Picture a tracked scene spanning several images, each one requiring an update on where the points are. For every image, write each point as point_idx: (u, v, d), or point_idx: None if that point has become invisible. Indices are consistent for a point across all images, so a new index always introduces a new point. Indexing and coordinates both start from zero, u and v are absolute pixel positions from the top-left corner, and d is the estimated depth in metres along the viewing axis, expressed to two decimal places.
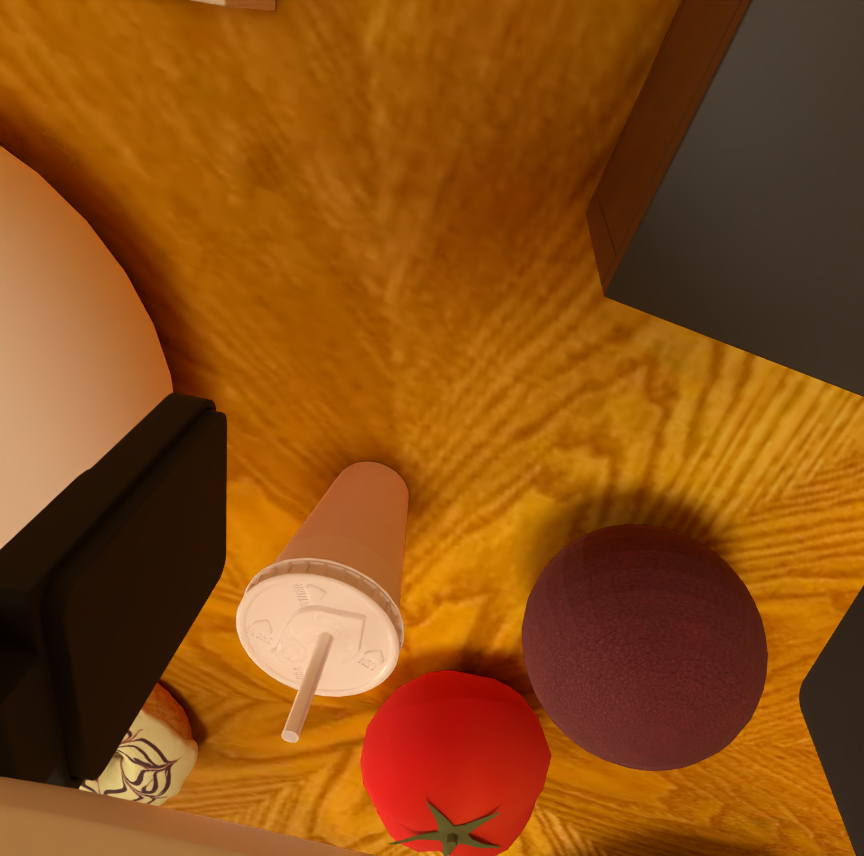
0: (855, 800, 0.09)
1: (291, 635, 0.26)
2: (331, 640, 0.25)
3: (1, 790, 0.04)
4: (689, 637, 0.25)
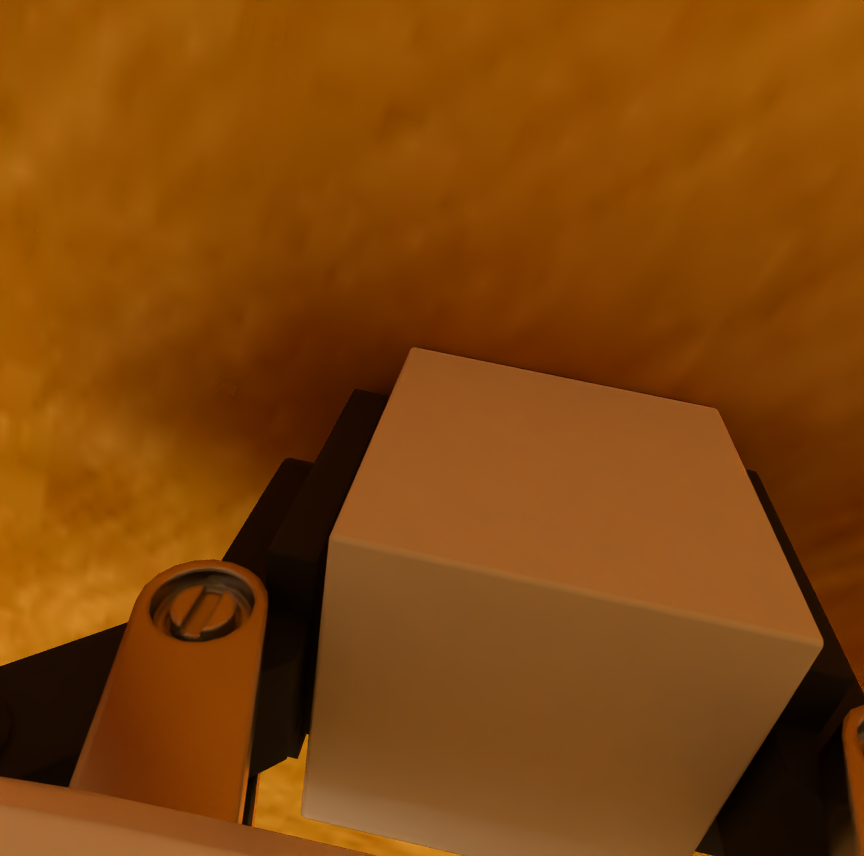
0: None
1: None
2: None
3: (1, 790, 0.04)
4: None
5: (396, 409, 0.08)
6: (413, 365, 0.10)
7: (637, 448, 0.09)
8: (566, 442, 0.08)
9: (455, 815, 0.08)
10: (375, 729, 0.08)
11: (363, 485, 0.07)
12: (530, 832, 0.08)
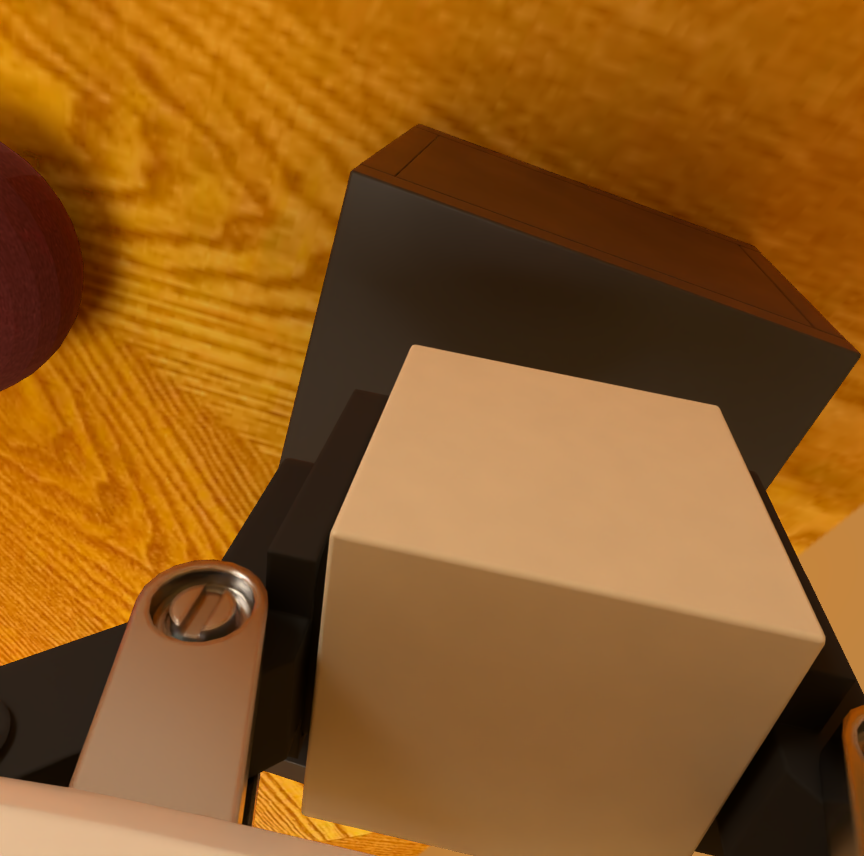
0: None
1: None
2: None
3: (2, 790, 0.04)
4: None
5: (397, 406, 0.08)
6: (413, 362, 0.10)
7: (638, 445, 0.09)
8: (567, 438, 0.08)
9: (456, 813, 0.08)
10: (375, 727, 0.07)
11: (364, 482, 0.07)
12: (531, 830, 0.08)
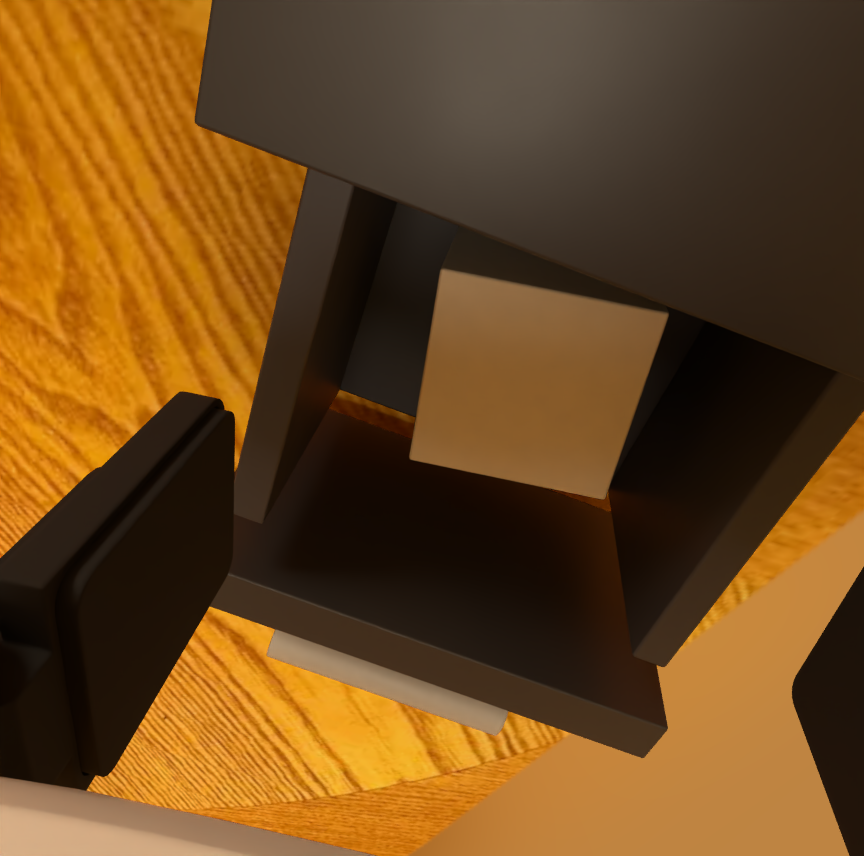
0: (846, 793, 0.09)
1: None
2: None
3: (1, 790, 0.04)
4: None
5: (460, 237, 0.16)
6: None
7: None
8: None
9: (493, 446, 0.15)
10: (454, 389, 0.15)
11: (451, 257, 0.14)
12: (533, 454, 0.15)
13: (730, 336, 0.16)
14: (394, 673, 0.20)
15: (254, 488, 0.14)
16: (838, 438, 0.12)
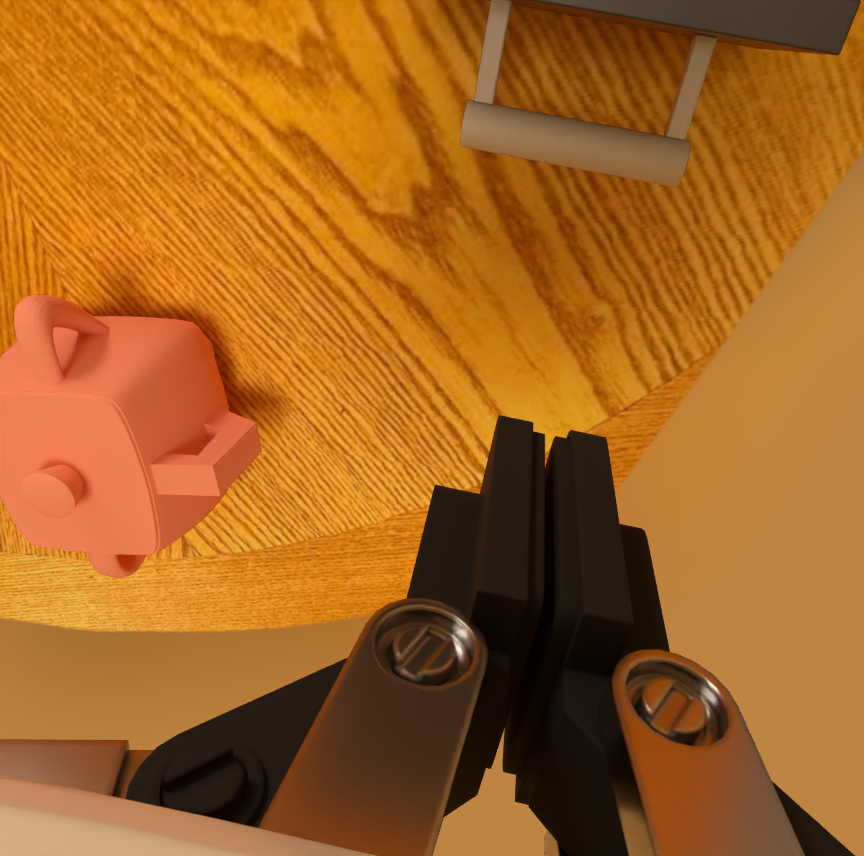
0: None
1: None
2: None
3: (1, 790, 0.04)
4: None
5: None
6: None
7: None
8: None
9: None
10: None
11: None
12: None
13: None
14: (579, 127, 0.21)
15: None
16: None
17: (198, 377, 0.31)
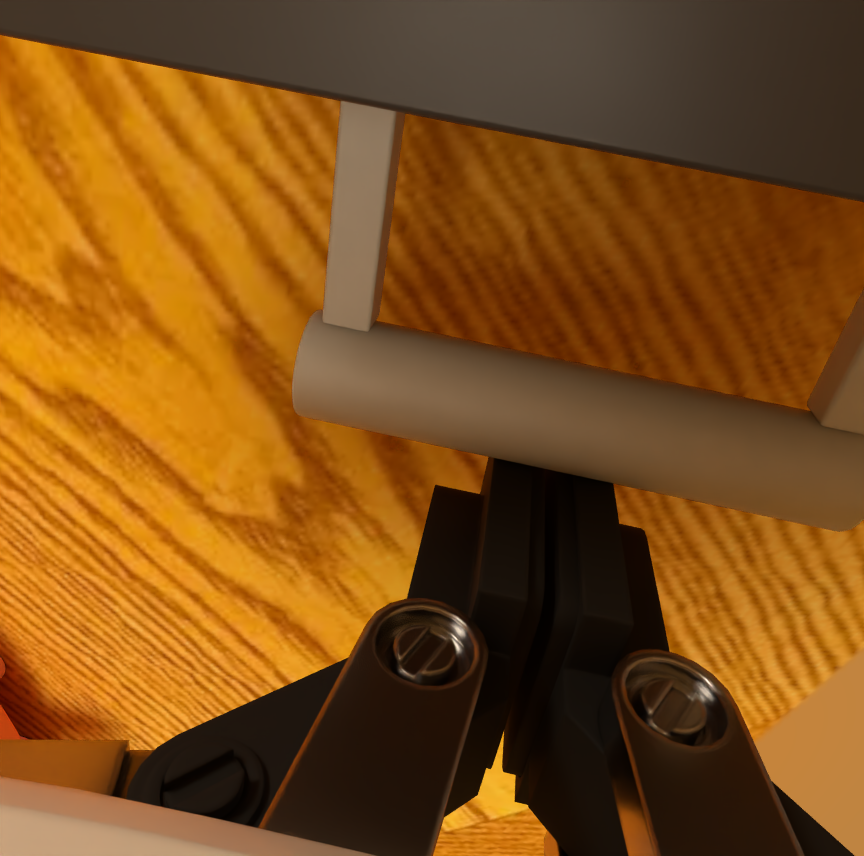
0: None
1: None
2: None
3: (1, 790, 0.04)
4: None
5: None
6: None
7: None
8: None
9: None
10: None
11: None
12: None
13: None
14: (593, 399, 0.08)
15: None
16: None
17: None
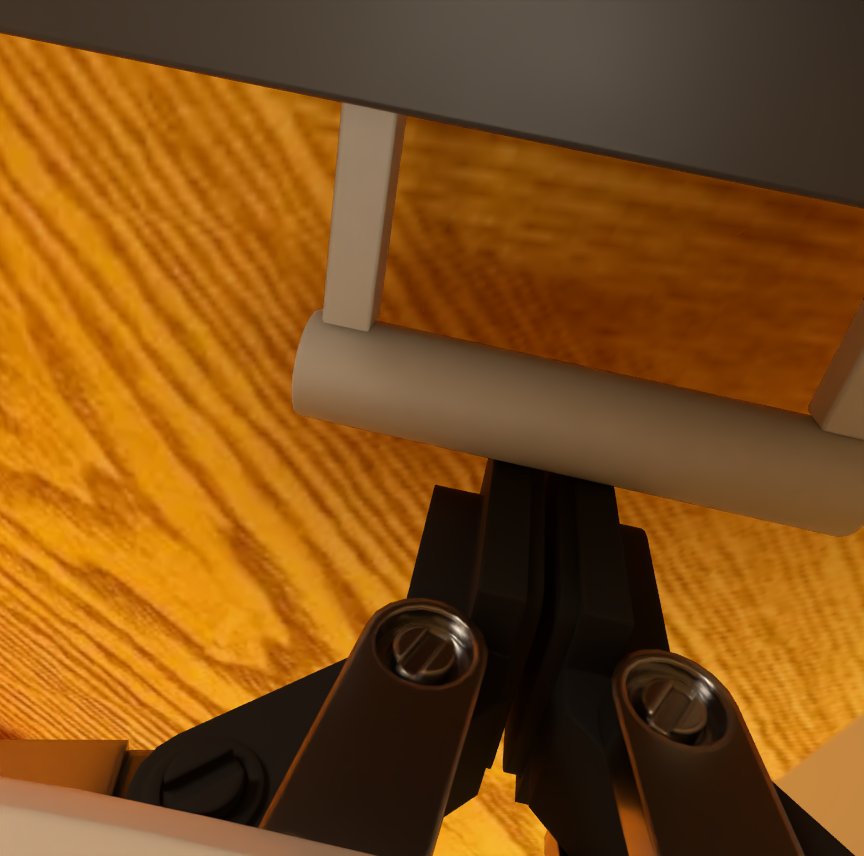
0: None
1: None
2: None
3: (2, 790, 0.04)
4: None
5: None
6: None
7: None
8: None
9: None
10: None
11: None
12: None
13: None
14: (593, 401, 0.08)
15: None
16: None
17: None
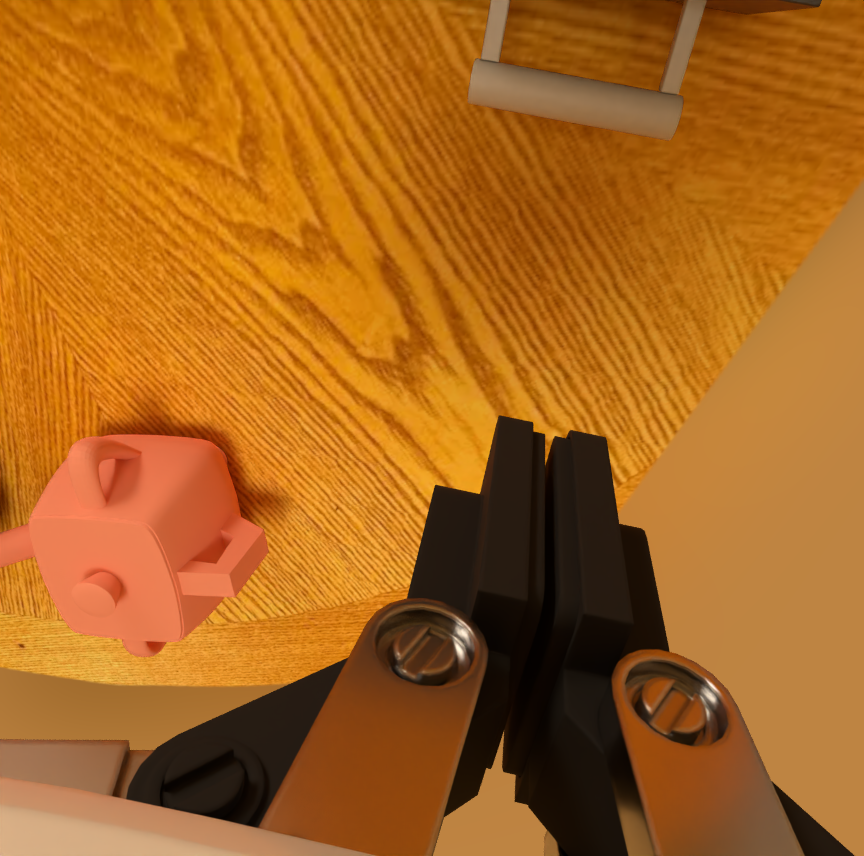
0: None
1: None
2: None
3: (1, 790, 0.04)
4: None
5: None
6: None
7: None
8: None
9: None
10: None
11: None
12: None
13: None
14: (579, 82, 0.23)
15: None
16: None
17: (215, 491, 0.37)
